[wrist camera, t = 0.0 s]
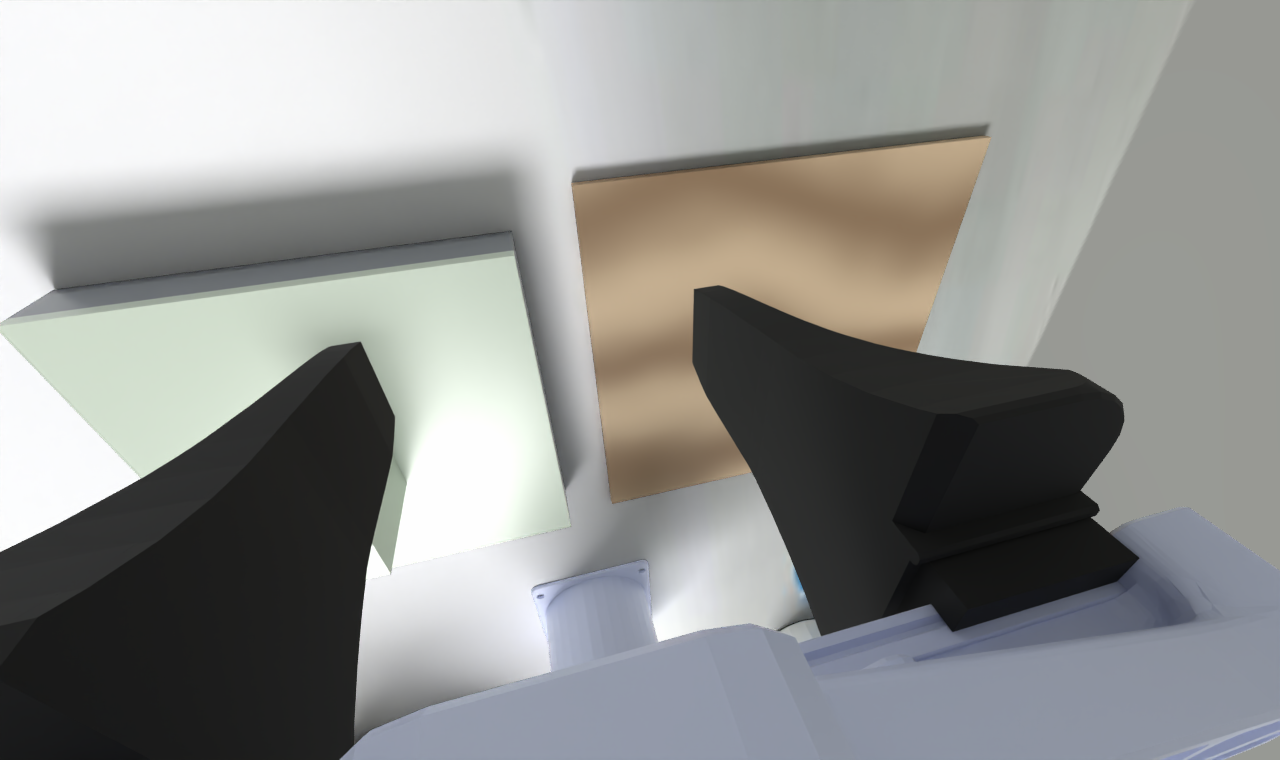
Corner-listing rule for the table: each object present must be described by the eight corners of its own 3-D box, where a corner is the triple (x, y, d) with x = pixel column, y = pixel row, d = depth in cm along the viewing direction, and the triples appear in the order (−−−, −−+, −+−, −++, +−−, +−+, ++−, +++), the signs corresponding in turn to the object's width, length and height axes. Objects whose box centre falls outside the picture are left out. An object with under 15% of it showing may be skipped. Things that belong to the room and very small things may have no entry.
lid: (570, 519, 26) (584, 606, 22) (261, 589, 24) (216, 702, 20) (513, 250, 17) (520, 317, 13) (7, 318, 15) (-167, 426, 11)
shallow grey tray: (565, 491, 28) (570, 519, 26) (275, 554, 25) (261, 589, 24) (511, 231, 19) (513, 250, 17) (53, 289, 16) (7, 318, 15)
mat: (880, 438, 32) (884, 442, 32) (610, 498, 29) (612, 503, 29) (984, 135, 21) (991, 137, 21) (571, 182, 18) (572, 185, 18)
